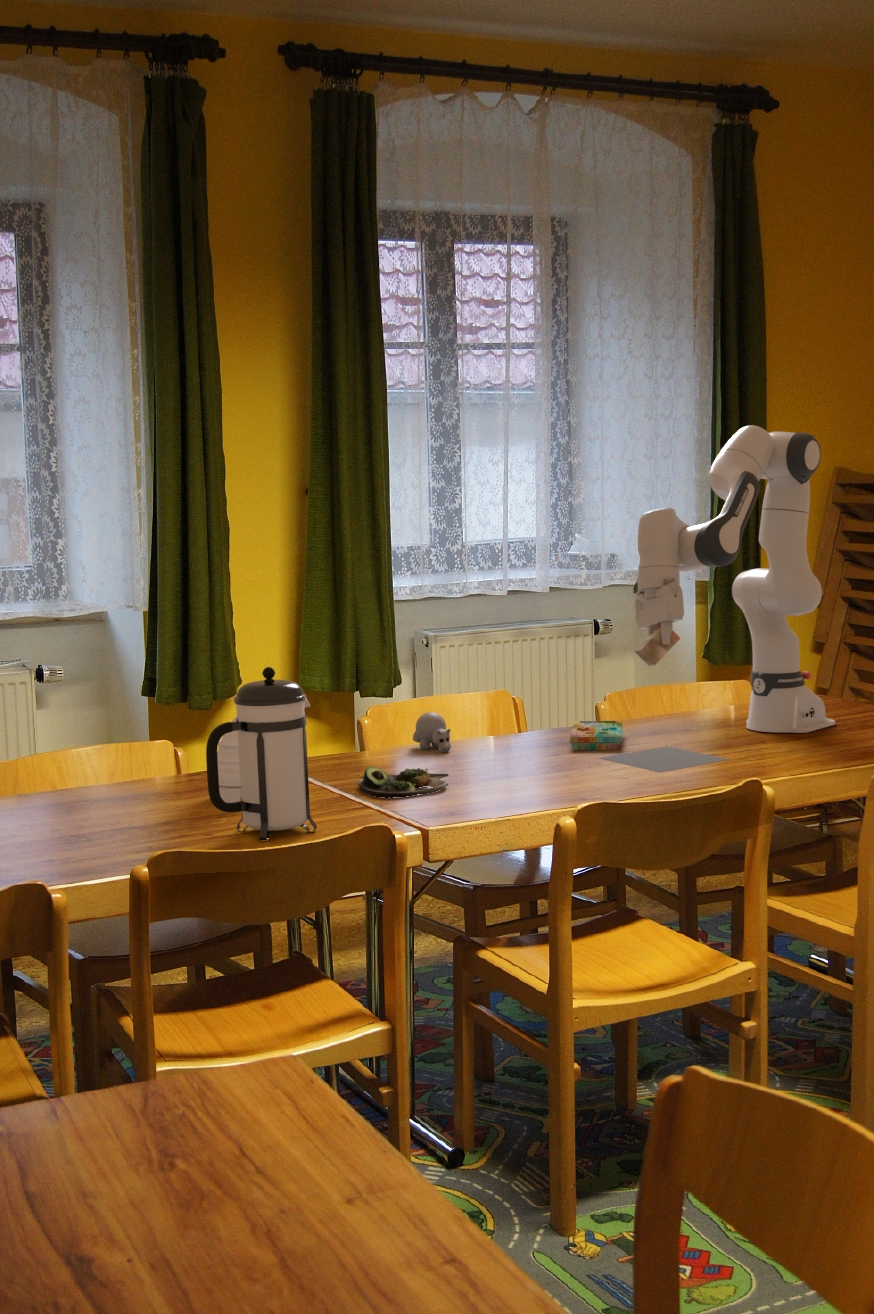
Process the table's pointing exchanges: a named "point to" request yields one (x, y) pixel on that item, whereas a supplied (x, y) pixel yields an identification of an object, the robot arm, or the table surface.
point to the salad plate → (400, 782)
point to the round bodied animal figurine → (432, 732)
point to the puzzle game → (596, 735)
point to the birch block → (655, 647)
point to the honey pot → (229, 767)
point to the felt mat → (663, 759)
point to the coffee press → (267, 756)
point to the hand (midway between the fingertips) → (660, 646)
